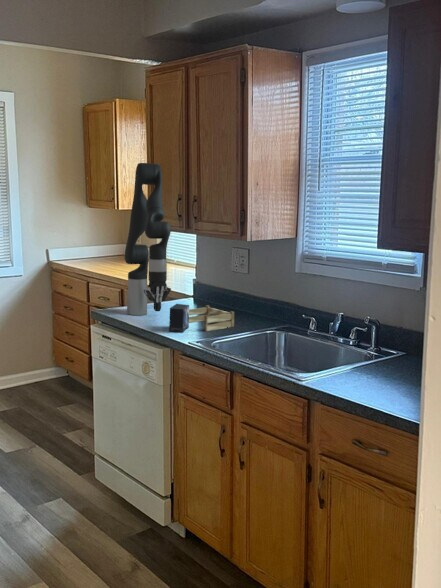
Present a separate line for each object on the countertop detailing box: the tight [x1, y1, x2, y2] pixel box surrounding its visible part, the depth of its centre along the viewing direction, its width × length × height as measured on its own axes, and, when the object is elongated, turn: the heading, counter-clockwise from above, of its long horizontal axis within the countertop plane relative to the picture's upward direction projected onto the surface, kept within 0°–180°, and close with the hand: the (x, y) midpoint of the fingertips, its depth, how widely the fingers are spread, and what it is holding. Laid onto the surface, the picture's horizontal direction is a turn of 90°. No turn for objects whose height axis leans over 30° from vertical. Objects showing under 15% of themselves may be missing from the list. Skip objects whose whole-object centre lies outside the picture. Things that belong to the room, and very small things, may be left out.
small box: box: [168, 303, 190, 333], centre depth 276 cm, size 11×6×10 cm, turn 168°
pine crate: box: [189, 304, 235, 332], centre depth 287 cm, size 18×16×7 cm
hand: (157, 310), depth 267 cm, fingers closed
